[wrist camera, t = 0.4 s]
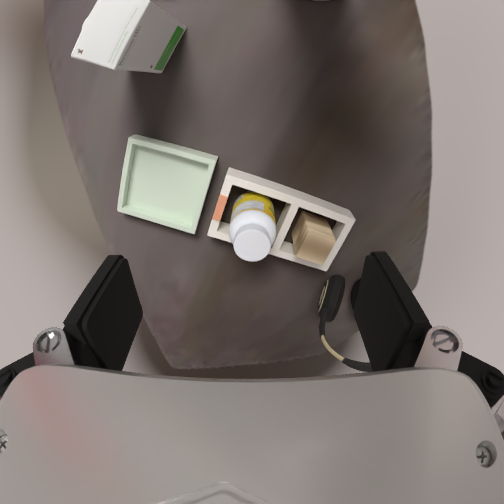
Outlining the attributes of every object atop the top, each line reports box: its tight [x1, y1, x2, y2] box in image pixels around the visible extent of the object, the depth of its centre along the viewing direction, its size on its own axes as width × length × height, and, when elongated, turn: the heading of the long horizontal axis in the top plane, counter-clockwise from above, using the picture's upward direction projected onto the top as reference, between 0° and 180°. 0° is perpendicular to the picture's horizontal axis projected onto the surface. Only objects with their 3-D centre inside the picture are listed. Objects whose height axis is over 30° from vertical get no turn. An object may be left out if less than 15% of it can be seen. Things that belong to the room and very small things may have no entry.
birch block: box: [291, 211, 336, 265], centre depth 45 cm, size 4×4×7 cm
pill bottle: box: [229, 191, 276, 261], centre depth 42 cm, size 6×6×12 cm
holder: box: [207, 167, 355, 271], centre depth 46 cm, size 10×21×4 cm, turn 71°
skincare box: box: [71, 0, 186, 73], centre depth 26 cm, size 8×7×16 cm
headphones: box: [318, 275, 373, 372], centre depth 47 cm, size 9×15×20 cm, turn 84°
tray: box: [117, 134, 218, 234], centre depth 43 cm, size 13×14×2 cm
